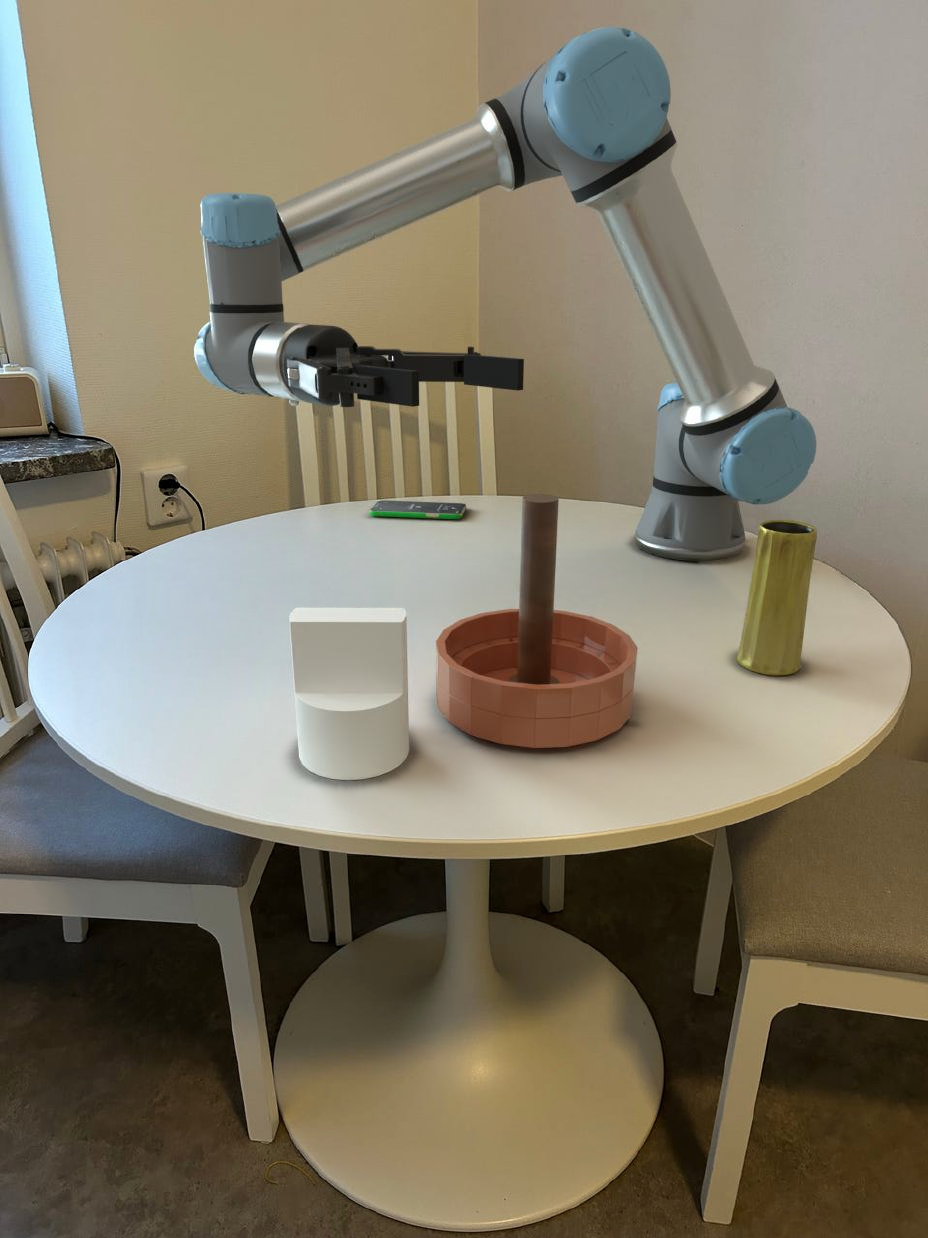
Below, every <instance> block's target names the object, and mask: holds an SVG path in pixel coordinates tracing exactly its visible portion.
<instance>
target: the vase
mask: <svg viewBox="0 0 928 1238" xmlns="http://www.w3.org/2000/svg"><path fill="white" fill-rule="evenodd" d="M817 538H818V528H817V527H815V526H814V525H812V524H809V523H807V522H803V521H798V520H790V519H768V520H764V521H762V522H760V523H759V526H758V532H757V539H756V547H755V555H754V562H753V566H752V573H751V580H750V584H749V592H748V598H747V605H746V610H745V615H744V620H743V624H742V625H743V626H742V632H741V638H740V642H739V643H740V644H739V648H738V652H737V655H736V659H737V662H738V663H739V665H740V666H742V667H744V668H745V669H746V670H748V671H751V672H753V673H758V674H761V675H766V676H778V677H780V676H781V677H782V676H788V675H792V674H795V673H797V672H798V671H799V670H801V668H802V654H803V653H802V652H803V644H804V635H805V626H806V618H807V610H808V608H807V607H808V603H809V602H808V600H809V592H810V585H811V578H812V570H813V564H814V557H815V551H816V543H817Z"/></svg>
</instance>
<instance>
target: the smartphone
mask: <svg viewBox="0 0 928 1238" xmlns="http://www.w3.org/2000/svg"><path fill="white" fill-rule="evenodd" d="M466 510H467V504H466V503H463V502H440V501H439V502H436V501H410V500H388V499H387V500H385V499H384V500H378V501H376V503H374V505H373V506H372V507H371V508H370V509H369V512H368V514H369V515H370V516H372V517H389V518H390V517H391V518H415V519H416V518H417V519H439V520H440V519H441V520H459V519H462V518H463V516H464V515H465V512H466Z"/></svg>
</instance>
